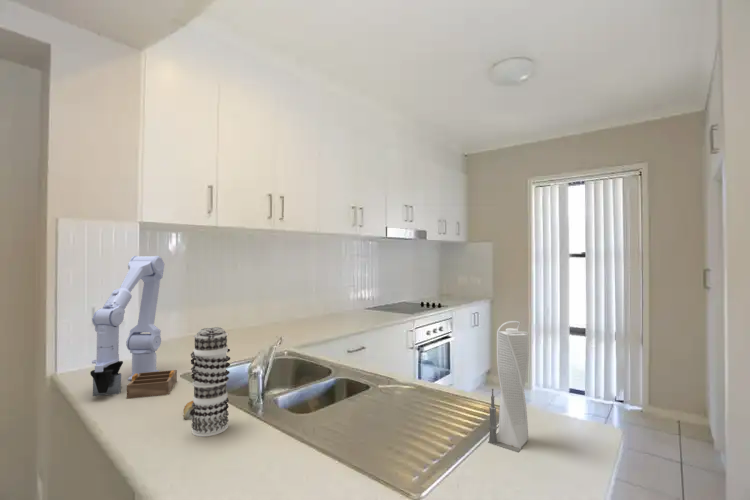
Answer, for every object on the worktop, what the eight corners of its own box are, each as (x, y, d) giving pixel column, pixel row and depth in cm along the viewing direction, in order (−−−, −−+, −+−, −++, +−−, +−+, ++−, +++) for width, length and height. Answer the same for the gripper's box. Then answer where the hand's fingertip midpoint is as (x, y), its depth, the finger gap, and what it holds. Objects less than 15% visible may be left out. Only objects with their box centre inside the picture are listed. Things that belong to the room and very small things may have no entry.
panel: (95, 394, 119) (95, 375, 119) (120, 391, 121) (121, 373, 121) (92, 396, 117) (93, 377, 117) (118, 394, 119) (118, 375, 120)
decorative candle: (191, 424, 97) (192, 327, 98) (230, 418, 100) (230, 325, 101) (187, 440, 89) (188, 333, 89) (229, 433, 92) (230, 331, 93)
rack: (139, 384, 128) (139, 369, 128) (176, 381, 132) (176, 366, 132) (126, 398, 115) (126, 381, 115) (168, 394, 119) (168, 378, 119)
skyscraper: (501, 431, 94) (500, 318, 94) (535, 441, 88) (533, 321, 89) (487, 443, 87) (486, 322, 88) (523, 455, 82) (522, 326, 83)
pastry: (184, 408, 108) (184, 395, 108) (209, 405, 111) (210, 392, 111) (182, 421, 99) (183, 407, 99) (210, 417, 102) (210, 403, 102)
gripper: (101, 341, 125) (101, 382, 125) (83, 352, 112) (82, 398, 111) (126, 340, 128) (125, 380, 127) (110, 350, 114) (109, 395, 113)
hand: (107, 388), depth 119 cm, fingers open, 7 cm apart
